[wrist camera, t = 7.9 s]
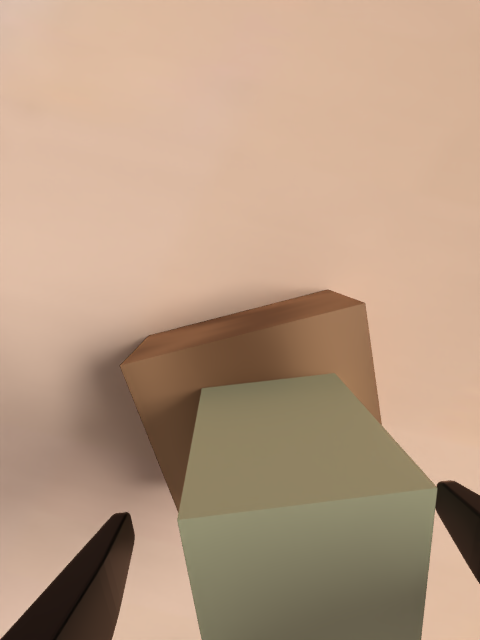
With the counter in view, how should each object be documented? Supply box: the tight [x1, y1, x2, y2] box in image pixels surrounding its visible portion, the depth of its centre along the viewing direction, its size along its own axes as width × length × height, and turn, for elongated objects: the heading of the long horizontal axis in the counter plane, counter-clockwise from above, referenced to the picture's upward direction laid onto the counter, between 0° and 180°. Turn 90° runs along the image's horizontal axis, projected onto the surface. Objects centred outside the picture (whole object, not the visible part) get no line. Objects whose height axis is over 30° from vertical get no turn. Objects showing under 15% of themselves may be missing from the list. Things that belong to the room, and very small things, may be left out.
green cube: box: [177, 373, 437, 640], centre depth 8 cm, size 5×5×5 cm
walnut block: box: [120, 290, 382, 513], centre depth 12 cm, size 9×9×4 cm
